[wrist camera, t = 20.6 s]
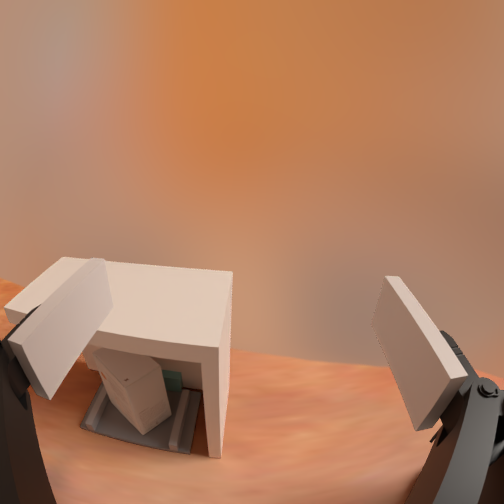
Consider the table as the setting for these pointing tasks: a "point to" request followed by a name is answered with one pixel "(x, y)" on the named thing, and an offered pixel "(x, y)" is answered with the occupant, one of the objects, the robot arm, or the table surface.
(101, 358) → the small box
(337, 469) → the table surface
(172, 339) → the cabinet
